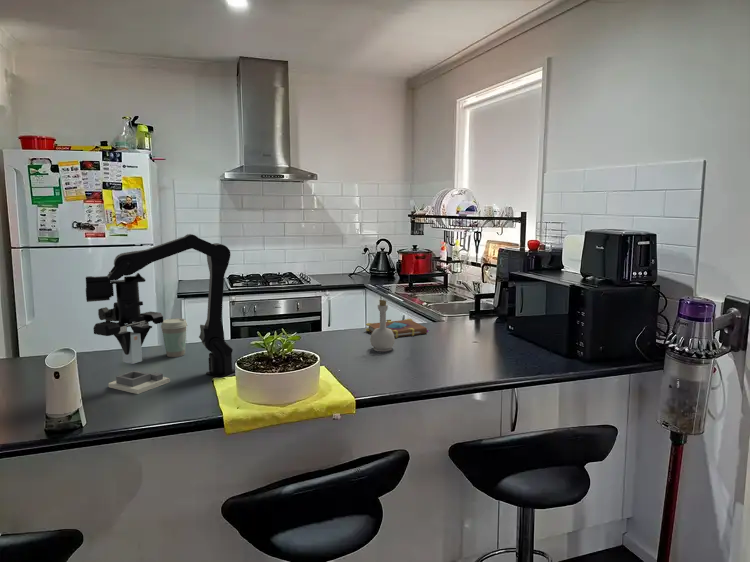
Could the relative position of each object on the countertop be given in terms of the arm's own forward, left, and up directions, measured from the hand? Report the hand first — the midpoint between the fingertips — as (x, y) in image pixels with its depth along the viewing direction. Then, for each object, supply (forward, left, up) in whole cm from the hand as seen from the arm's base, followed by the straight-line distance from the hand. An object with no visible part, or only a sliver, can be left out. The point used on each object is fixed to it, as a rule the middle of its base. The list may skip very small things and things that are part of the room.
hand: (132, 352), depth 151 cm
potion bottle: (-46, -67, -10) cm, 82 cm away
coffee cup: (+14, -28, -10) cm, 33 cm away
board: (0, -1, -10) cm, 10 cm away
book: (-41, -93, -11) cm, 102 cm away
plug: (0, 0, -3) cm, 3 cm away
